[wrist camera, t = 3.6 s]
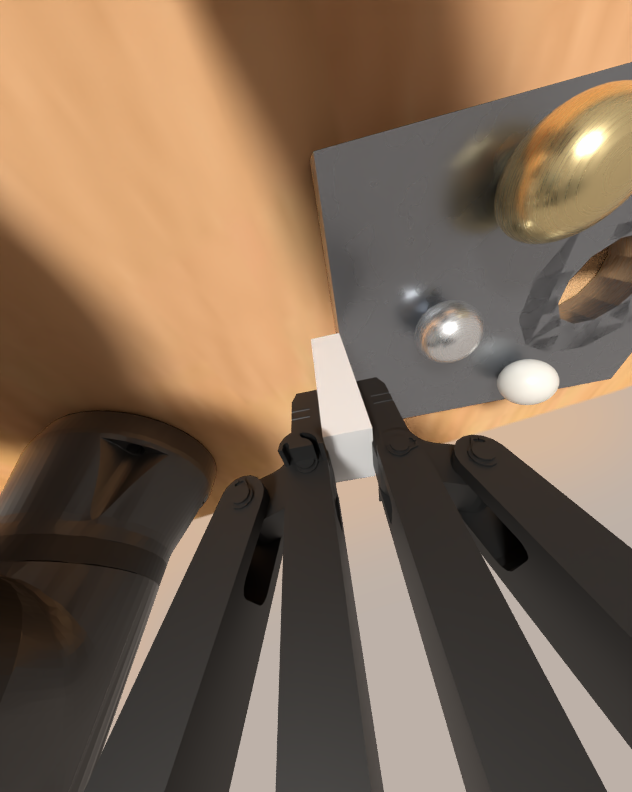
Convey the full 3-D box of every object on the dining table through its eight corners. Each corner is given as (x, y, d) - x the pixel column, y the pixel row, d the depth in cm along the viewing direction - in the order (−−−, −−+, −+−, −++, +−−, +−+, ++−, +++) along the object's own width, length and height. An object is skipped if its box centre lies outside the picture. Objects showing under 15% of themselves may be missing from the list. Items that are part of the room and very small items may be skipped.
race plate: (347, 407, 21) (352, 427, 19) (309, 161, 10) (313, 151, 9) (579, 361, 19) (610, 378, 17) (797, 25, 9) (930, -22, 7)
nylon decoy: (482, 389, 17) (510, 418, 15) (494, 356, 15) (529, 382, 13) (523, 381, 17) (559, 409, 15) (540, 346, 15) (585, 371, 13)
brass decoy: (463, 247, 11) (528, 263, 8) (486, 122, 8) (596, 75, 5) (549, 227, 11) (651, 235, 8) (601, 91, 8) (785, 23, 5)
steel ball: (404, 350, 14) (426, 380, 12) (407, 299, 12) (434, 322, 10) (455, 339, 14) (489, 367, 12) (467, 286, 12) (510, 306, 10)
